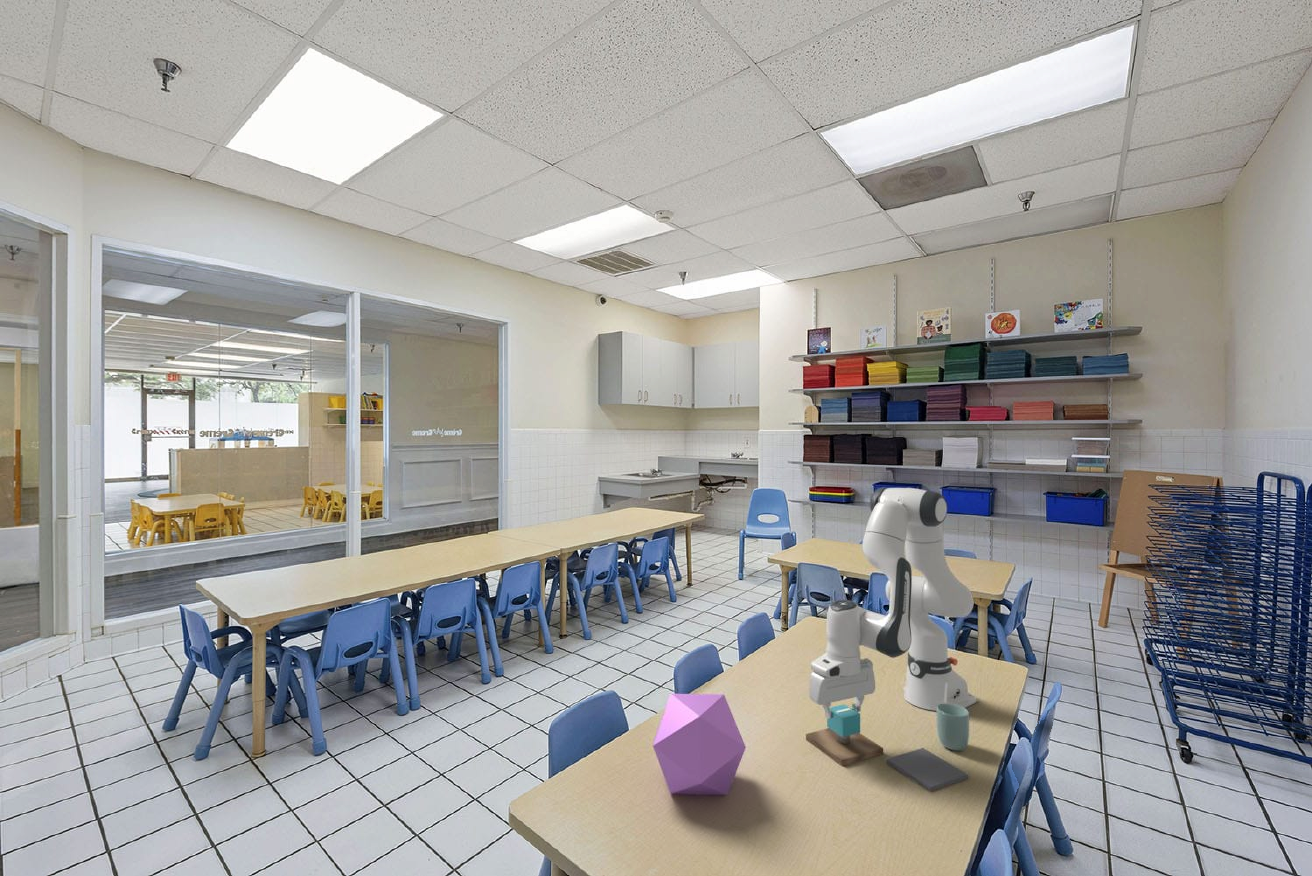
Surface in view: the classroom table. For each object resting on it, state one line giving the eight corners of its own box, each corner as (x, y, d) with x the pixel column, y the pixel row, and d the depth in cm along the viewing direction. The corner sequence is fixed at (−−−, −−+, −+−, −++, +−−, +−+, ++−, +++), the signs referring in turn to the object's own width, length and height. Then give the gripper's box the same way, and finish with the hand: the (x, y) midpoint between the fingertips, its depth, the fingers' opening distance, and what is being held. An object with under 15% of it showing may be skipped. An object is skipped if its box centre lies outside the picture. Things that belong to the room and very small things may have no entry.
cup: (966, 741, 152) (966, 705, 153) (972, 756, 145) (972, 718, 145) (934, 737, 155) (934, 700, 155) (939, 751, 148) (938, 713, 148)
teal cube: (844, 722, 154) (844, 703, 154) (860, 732, 149) (860, 712, 149) (827, 726, 152) (827, 707, 152) (842, 737, 146) (842, 717, 146)
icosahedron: (655, 721, 150) (654, 669, 135) (734, 722, 149) (741, 670, 135) (653, 815, 132) (651, 768, 117) (743, 817, 131) (752, 770, 117)
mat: (923, 751, 148) (923, 747, 148) (967, 778, 136) (967, 774, 136) (886, 762, 142) (886, 758, 142) (930, 791, 130) (930, 787, 130)
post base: (845, 729, 159) (845, 699, 159) (883, 753, 147) (883, 721, 147) (805, 739, 154) (805, 708, 154) (841, 765, 141) (841, 732, 141)
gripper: (863, 653, 157) (863, 702, 157) (805, 663, 149) (805, 715, 149) (880, 661, 152) (880, 712, 151) (821, 672, 143) (821, 726, 143)
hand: (843, 714), depth 150 cm, fingers open, 8 cm apart
